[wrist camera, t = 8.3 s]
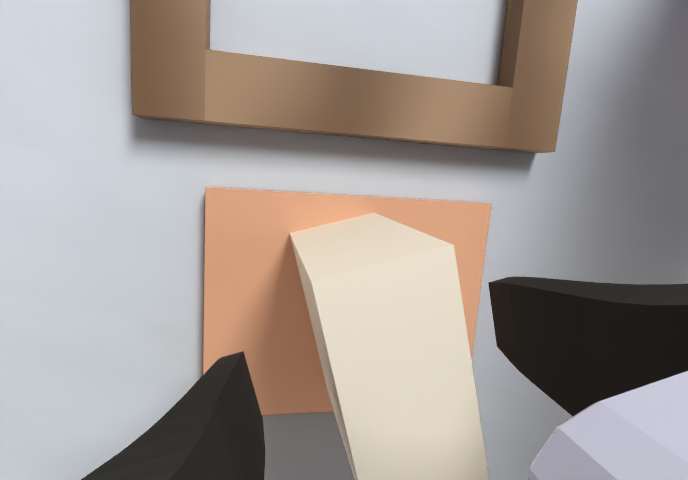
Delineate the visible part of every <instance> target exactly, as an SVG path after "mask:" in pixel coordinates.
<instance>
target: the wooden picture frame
mask: <svg viewBox="0 0 688 480" xmlns="http://www.w3.org/2000/svg"><path fill="white" fill-rule="evenodd" d="M577 2H578V0H508V4H507V12H506V20H505V28H504V36H503V44H502V52H501V60H500V68H499V77H498V85H497V86H495V85H487V84H479V83H471V82H463V81H455V80H447V79H439V78H431V77H423V76H415V75H407V74H399V73H391V72H383V71H374V70H366V69H358V68H350V67H342V66H334V65H326V64H318V63H310V62H302V61H294V60H286V59H278V58H270V57H262V56H254V55H245V54H237V53H229V52H221V51H213V50H210V0H130V28H131V89H132V114H133V115H135V116H138V117H140V118H146V119H158V120H169V121H180V122H192V123H203V124H214V125H226V126H237V127H249V128H260V129H271V130H283V131H294V132H305V133H317V134H328V135H339V136H351V137H362V138H373V139H385V140H396V141H408V142H419V143H430V144H442V145H453V146H464V147H476V148H487V149H498V150H510V151H521V152H532V153H545V152H555V148H556V142H557V135H558V128H559V122H560V115H561V108H562V102H563V95H564V88H565V82H566V75H567V68H568V62H569V55H570V48H571V42H572V35H573V28H574V22H575V15H576V8H577Z"/></svg>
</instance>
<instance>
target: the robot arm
mask: <svg viewBox="0 0 688 480" xmlns="http://www.w3.org/2000/svg"><path fill="white" fill-rule="evenodd" d="M489 290H490V298H491V305H492V313H493V320H494V328H495V335H496V342H497V346H498V348H499V349H500V350H501V351H502V352H503V354H504V355H505V356H506V357H507V358H508V360H509V361H510V362H511V363H512V364H513V365H514V366H515V367H516V368H517V369H518V370H519V371H520V372H521V373H522V374H523V375H524V376H525V377H527V378H528V379H529V380H530V381H531V382H532V383H534V384H535V385H536V386H537V387H538V388H539V389H541V390H542V391H543V392H544V393H545V394H547V395H548V396H549V397H550V398H551V399H553V400H554V401H555V402H556V403H557V404H559V405H560V406H561V407H562V408H563V409H565V410H566V411H567V412H568V413H569V414H571V415H572V416H573V417H571V418H570V419H568V420H567V421H565V422H563V423H562V424H560V425H559V426H557V427H556V428H555V429H554V431H553V432H552V434H551V435H550V437H549V438H548V440H547V441H546V443H545V444H544V446H543V447H542V449H541V450H540V451H539V453H538V454H537V456H536V457H535V459H534V460H533V462H532V463H531V466H530V469H529V476H528V480H688V284H673V285H634V284H611V283H594V282H581V281H570V280H559V279H548V278H535V277H507V278H504V279H500V280H496V281H493V282H489ZM264 469H265V442H264V430H263V419H262V415H261V411H260V408H259V404H258V401H257V397H256V393H255V390H254V386H253V383H252V379H251V376H250V372H249V369H248V365H247V362H246V358H245V355H244V351H242V352H238V353H235V354H231V355H228V356H224V357H221V358H219V359H218V360H217V361H216V362H215V363H214V364H213V365H212V366H211V367H210V368H209V369H208V370H207V371H206V373H205V374H204V375H203V376H202V377H201V378H200V379H199V380H198V381H197V382H196V384H195V385H194V386H193V387H192V388H191V389H190V390H189V391H188V392H187V393H186V394H185V395H184V396H183V397H182V398H181V399H180V400H179V401H178V402H177V403H176V404H175V405H174V406H173V407H172V408H171V409H170V410H169V411H168V412H167V413H166V414H165V415H164V416H163V417H162V418H161V419H160V420H159V421H158V422H157V423H156V424H154V425H153V426H152V427H151V428H150V429H149V430H148V431H146V432H145V433H144V434H143V435H141V436H140V437H139V438H138V439H137V440H135V441H134V442H133V443H132V444H130V445H129V446H128V447H127V448H125V449H124V450H123V451H121V452H120V453H119V454H117V455H116V456H114V457H113V458H111V459H110V460H109V461H107V462H106V463H104V464H103V465H101V466H100V467H99V468H97V469H96V470H94V471H93V472H91V473H90V474H89V475H87V476H86V477H84V478H83V479H81V480H264Z"/></svg>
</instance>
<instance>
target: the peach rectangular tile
mask: <svg viewBox="0 0 688 480" xmlns="http://www.w3.org/2000/svg"><path fill="white" fill-rule="evenodd" d="M490 212H491V204H490V203H484V202H468V201H451V200H433V199H416V198H399V197H381V196H364V195H347V194H329V193H312V192H295V191H277V190H260V189H243V188H225V187H206V193H205V272H204V352H203V375H204V374H205V373H206V371H207V370H208V369H209V368H210V367H211V366H212V365H213V364H214V363H215V362H216V361H217V360H218V359H219V358H221V357H224V356H228V355H231V354H235V353H238V352H242V351H244V355H245V358H246V362H247V365H248V369H249V372H250V376H251V379H252V383H253V386H254V390H255V393H256V397H257V401H258V404H259V408H260V411H261V415H277V414H295V413H314V412H332V411H333V407H332V404H331V401H330V397H329V394H328V391H327V387H326V383H325V378H324V374H323V370H322V366H321V362H320V358H319V353H318V349H317V345H316V341H315V337H314V333H313V328H312V324H311V320H310V316H309V312H308V308H307V303H306V299H305V295H304V291H303V287H302V283H301V278H300V274H299V270H298V266H297V262H296V258H295V253H294V249H293V245H292V241H291V237H290V233H292V232H296V231H300V230H305V229H309V228H313V227H317V226H321V225H325V224H330V223H334V222H338V221H342V220H346V219H350V218H355V217H359V216H363V215H367V214H371V213H376V214H379V215H381V216H384V217H386V218H389V219H391V220H393V221H396V222H398V223H401V224H403V225H406V226H408V227H411V228H413V229H416V230H418V231H420V232H423V233H425V234H428V235H430V236H433V237H435V238H438V239H440V240H443V241H445V242H447V243H450V244H452V245H454V249H455V256H456V262H457V269H458V276H459V282H460V289H461V296H462V302H463V309H464V315H465V322H466V329H467V335H468V342H469V348H470V355H471V360H472V352H473V345H474V337H475V329H476V321H477V313H478V305H479V298H480V290H481V282H482V274H483V266H484V258H485V251H486V243H487V235H488V227H489V219H490Z"/></svg>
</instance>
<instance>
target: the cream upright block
mask: <svg viewBox="0 0 688 480" xmlns="http://www.w3.org/2000/svg"><path fill="white" fill-rule="evenodd" d="M290 237H291V241H292V245H293V249H294V253H295V258H296V262H297V266H298V270H299V274H300V278H301V283H302V287H303V291H304V295H305V299H306V303H307V308H308V312H309V316H310V320H311V324H312V328H313V333H314V337H315V341H316V345H317V349H318V353H319V358H320V362H321V366H322V370H323V374H324V378H325V383H326V387H327V391H328V394H329V397H330V401H331V404H332V407H333V411H334V414H335V417H336V421H337V424H338V427H339V430H340V434H341V437H342V440H343V444H344V447H345V450H346V454H347V457H348V460H349V464H350V467H351V470H352V474H353V477H354V480H489V474H488V468H487V461H486V454H485V448H484V441H483V434H482V428H481V421H480V415H479V408H478V401H477V395H476V388H475V382H474V375H473V368H472V362H471V355H470V348H469V342H468V335H467V329H466V322H465V315H464V309H463V302H462V296H461V289H460V282H459V276H458V269H457V262H456V256H455V249H454V245H452V244H450V243H447V242H445V241H443V240H440V239H438V238H435V237H433V236H430V235H428V234H425V233H423V232H420V231H418V230H416V229H413V228H411V227H408V226H406V225H403V224H401V223H398V222H396V221H393V220H391V219H389V218H386V217H384V216H381V215H379V214H376V213H371V214H367V215H363V216H359V217H355V218H350V219H346V220H342V221H338V222H334V223H330V224H325V225H321V226H317V227H313V228H309V229H305V230H300V231H296V232H292V233H290Z"/></svg>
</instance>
